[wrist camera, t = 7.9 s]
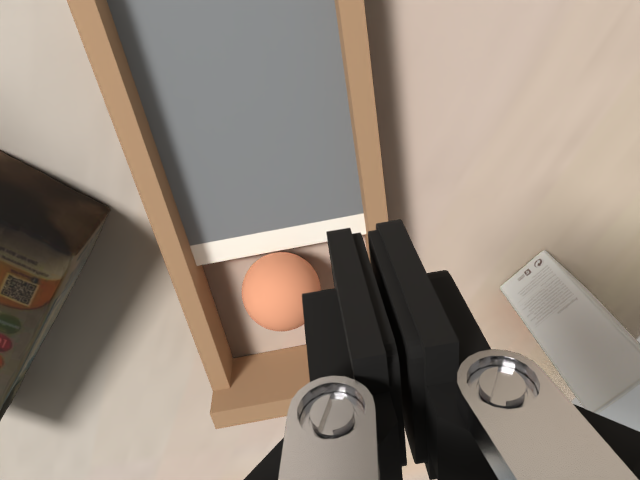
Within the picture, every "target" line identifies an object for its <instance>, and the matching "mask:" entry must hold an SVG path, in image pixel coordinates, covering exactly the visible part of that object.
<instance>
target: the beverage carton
mask: <svg viewBox="0 0 640 480" xmlns="http://www.w3.org/2000/svg"><path fill="white" fill-rule="evenodd" d="M109 211H110V208H109V207H107V206H106V205H104V204H102V203H100V202H98V201H96V200H94V199H92V198H90V197H88V196H86V195H84V194H81V193H79V192H77V191H75V190H73V189H71V188H69V187H68V186H66V185H64V184H62V183H60V182H58V181H56V180H54V179H52V178H50V177H49V176H48V175H46V174H44V173H42V172H40V171H38V170H36V169H34V168H32V167H30V166H28V165H26V164H24V163H23V162H21V161H19V160H17V159H15V158H12V157H10V156H9V155H7V154H5V153H3V152H2V151H0V421H1V419H2V417H3V415H4V413H5V412H6V410H7V408H8V407H9V405H10V404H11V403H12V400H13V398H14V396H15V394H16V392H17V390H18V389H19V387H20V385H21V382H22V380H23V378H24V376H25V374H26V372H27V370H28V368H29V366H30V364H31V362H32V361H33V359H34V357H35V355H36V353H37V351H38V349H39V347H40V346H41V344H42V342H43V340H44V339H45V337H46V335H47V333H48V331H49V329H50V328H51V326H52V324H53V322H54V320H55V319H56V317H57V315H58V313H59V311H60V309H61V308H62V306H63V304H64V302H65V300H66V298H67V296H68V294H69V293H70V291H71V289H72V287H73V285H74V283H75V281H76V279H77V277H78V275H79V273H80V272H81V270H82V268H83V266H84V264H85V262H86V260H87V258H88V256H89V254H90V252H91V250H92V248H93V246H94V244H95V242H96V240H97V237H98V235H99V233H100V231H101V230H102V227H103V224H104V222H105V220H106V217H107V215H108V213H109Z"/></svg>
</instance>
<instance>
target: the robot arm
mask: <svg viewBox="0 0 640 480" xmlns="http://www.w3.org/2000/svg"><path fill="white" fill-rule="evenodd" d="M326 233H327V240H328V247H329V254H330V260H331V267H332V273H333V280H334V286H335V288H334V289H328V290H322V291H316V292H309V293H303V294H302V304H303V315H304V325H305V336H306V347H307V358H308V368H309V379H310V382H309V383H308V384H306V385H305V386H304V387H302V388H301V389H300V390H298V392H297V393H296V394H295V396H294V397H293V399H292V400H291V403H290V406H289V409H288V413H287V420H286V427H285V435H284V438H283V439H282V440H281V441H280V442H279V443H278V444H277V445H276V446H275V447H274V448H273V449H272V450H271V452H270V453H269V454H268V455H267V456H266V457H265V458H264V459H263V460H262V461H261V462H260V463H259V464H258V465H257V466H256V467H255V468H254V469H253V470H252V472H251V473H250V474H249V475H248V476H247V477H246V478H245V479H244V480H403V478H402V466H406V465H407V458H406V445H405V432H404V428H405V431H406V435H407V438H408V442H409V445H410V449H411V453H412V456H413V459H414V462H415V464H419V463H425V465H426V469H427V472H428V475H429V479H430V480H433V479H438V480H640V432H639V431H637V430H634V429H632V428H630V427H627V426H625V425H622V424H620V423H618V422H615V421H613V420H611V419H608V418H606V417H603V416H601V415H599V414H596V413H594V412H591V411H589V410H587V409H584V408H582V407H579V406H577V405H574V404H572V403H571V401H570V400H569V399H568V398H567V397H566V396H565V395H564V393H563V392H562V391H561V390H560V389H559V388H558V386H557V385H556V384H555V383H554V382H553V381H552V380H551V378H550V377H549V376H548V375H547V374H546V373H545V372H544V370H543V369H542V368H541V367H539V366H538V365H537V364H536V363H535V362H534V361H533V360H531V359H529V358H527V357H525V356H523V355H521V354H519V353H515V352H511V351H508V350H496V349H491V348H490V346H489V345H488V343H487V341H486V339H485V337H484V335H483V334H482V332H481V330H480V328H479V326H478V324H477V323H476V321H475V319H474V317H473V315H472V313H471V312H470V310H469V308H468V306H467V304H466V302H465V300H464V299H463V297H462V295H461V293H460V291H459V289H458V288H457V286H456V284H455V282H454V280H453V278H452V277H451V275H450V274H449V272H448V271H446V270H443V271H437V272H431V273H426V271H425V269H424V267H423V265H422V263H421V260H420V258H419V256H418V254H417V252H416V250H415V248H414V246H413V244H412V241H411V239H410V237H409V235H408V233H407V231H406V229H405V227H404V225H403V223H402V221H401V220H394V221H388V222H382V223H376V230H372V231H368V243H369V253H370V260H369V257H368V254H367V251H366V247H365V244H364V241H363V238H362V235H361V233H354V234H352V232H351V229H350V228H345V229H339V230H333V231H327V232H326ZM370 262H371V263H370Z"/></svg>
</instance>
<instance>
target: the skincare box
mask: <svg viewBox="0 0 640 480" xmlns="http://www.w3.org/2000/svg"><path fill="white" fill-rule="evenodd" d="M500 289H501V291H502V292H503V294H504V295H505V297H506V298H507V299H508V301H509V302H510V304H511V305H512V306H513V308H514V309H515V311H516V312H517V313H518V315H519V316H520V318H521V319H522V321H523V322H524V324H525V325H526V326H527V328H528V329H529V331H530V332H531V334H532V335H533V336H534V338H535V339H536V341H537V342H538V344H539V345H540V346H541V348H542V349H543V351H544V352H545V353H546V355H547V356H548V358H549V359H550V361H551V362H552V363H553V365H554V366H555V368H556V369H557V370H558V372H559V373H560V375H561V376H562V378H563V379H564V380H565V382H566V383H567V385H568V386H569V388H570V389H571V390H572V392H573V393H574V395H575V396H576V398H577V399H578V400H579V402H580V403H581V404H582V406H583V407H584V409H587V410H589V411H591V412H594V413H596V414H599V415H601V416H603V417H606V418H608V419H611V420H613V421H615V422H618V423H620V424H622V425H625V426H627V427H630V428H632V429H634V430H637V431H639V432H640V343H639V342H638V341H637V340H636V339H635V338H634V337H633V336H632V335H631V334H630V333H629V332H628V331H627V330H626V329H625V328H624V327H623V325H622V324H621V323H620V322H619V321H618V320H617V319H616V318H615V317H614V316H613V315H612V314H611V313H610V312H609V311H608V310H607V309H606V308H605V307H604V306H603V305H602V303H601V302H600V301H599V300H598V299H597V298H596V297H595V296H594V295H593V294H592V293H591V292H590V291H589V290H588V289H587V288H586V287H585V286H584V285H583V284H582V283H581V282H579V281H578V280H577V279H576V278H575V277H574V276H573V275H572V274H571V273H570V272H569V271H568V270H566V269H565V268H564V267H563V266H562V265H561V264H560V263H559V262H558V261H556V260H555V259H554V258H553V257H552V256H551V255H550V254H549V253H548V252H547V251H545V250H543V251H541V252H540V253H539V254H538V255H537V256H535V257H534V258H533V259H532V260H531V261H530V262H528V263H527V264H526V265H525V266H524V267H523V268H521V269H520V270H519V271H518V272H517V273H516V274H515V275H513V276H512V277H511V278H510V279H509V280H507V281H506V282H505V283H504V284H503V285H501V287H500Z"/></svg>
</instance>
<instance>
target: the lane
mask: <svg viewBox="0 0 640 480" xmlns="http://www.w3.org/2000/svg"><path fill="white" fill-rule="evenodd" d="M67 2H68V5H69V8H70V10H71V13H72V16H73V18H74V21H75V24H76V26H77V29H78V32H79V34H80V37H81V40H82V42H83V45H84V48H85V50H86V53H87V56H88V58H89V61H90V64H91V66H92V69H93V72H94V74H95V77H96V80H97V82H98V85H99V88H100V90H101V93H102V96H103V98H104V101H105V104H106V106H107V109H108V112H109V114H110V117H111V120H112V122H113V125H114V128H115V130H116V133H117V136H118V139H119V141H120V144H121V147H122V149H123V152H124V155H125V157H126V160H127V163H128V165H129V168H130V171H131V173H132V176H133V179H134V181H135V184H136V187H137V189H138V192H139V195H140V197H141V200H142V203H143V205H144V208H145V211H146V213H147V216H148V219H149V221H150V224H151V227H152V229H153V232H154V235H155V237H156V240H157V243H158V245H159V248H160V251H161V253H162V256H163V259H164V261H165V264H166V267H167V269H168V272H169V275H170V277H171V280H172V283H173V285H174V288H175V291H176V293H177V296H178V299H179V301H180V304H181V307H182V309H183V312H184V315H185V317H186V320H187V323H188V325H189V328H190V331H191V333H192V336H193V339H194V341H195V344H196V347H197V349H198V352H199V355H200V357H201V360H202V363H203V365H204V368H205V371H206V374H207V376H208V379H209V382H210V384H211V387H212V390H213V395H212V402H211V410H210V415H211V418H212V420H213V423H214V425H215V428H216V429H219V428H224V427H230V426H235V425H240V424H246V423H251V422H257V421H262V420H267V419H273V418H278V417H284V416H287V413H288V409H289V406H290V403H291V400H292V399H293V397H294V396H295V394H296V393H297V392H298V390H300V389H301V388H302V387H304V386H305V385H306V384H308V383H309V382H310V379H309V368H308V358H307V347H306V345H302V346H296V347H291V348H286V349H280V350H275V351H270V352H264V353H259V354H253V355H248V356H243V357H237V358H233V357H232V354H231V351H230V348H229V345H228V342H227V339H226V336H225V333H224V330H223V327H222V324H221V321H220V318H219V315H218V312H217V309H216V306H215V303H214V300H213V297H212V294H211V291H210V288H209V285H208V282H207V279H206V276H205V273H204V270H203V267H202V265H205V264H210V263H215V262H221V261H226V260H231V259H237V258H242V257H247V256H253V255H258V254H263V253H269V252H274V251H279V250H285V249H290V248H295V247H301V246H306V245H311V244H317V243H322V242H327V241H328V240H327V233H326V232H327V231H333V230H339V229H345V228H350V229H351V232H352V234H354V233H361V235H365V240H366V247H367V254H368V257H369V260H370V253H369V243H368V231H372V230H376V223H382V222H388V213H387V204H386V195H385V186H384V177H383V168H382V159H381V150H380V141H379V132H378V123H377V114H376V105H375V96H374V87H373V78H372V69H371V60H370V51H369V42H368V33H367V24H366V15H365V6H364V0H67ZM370 263H371V262H370Z"/></svg>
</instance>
